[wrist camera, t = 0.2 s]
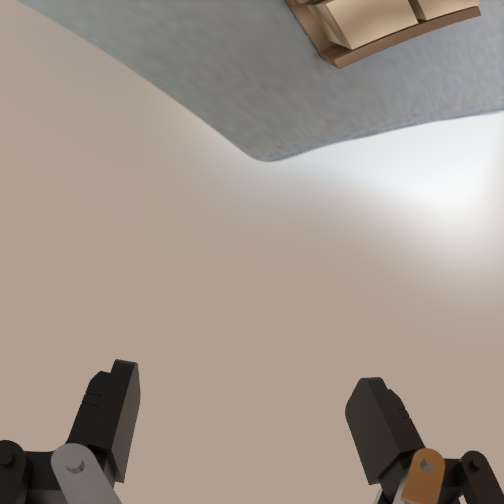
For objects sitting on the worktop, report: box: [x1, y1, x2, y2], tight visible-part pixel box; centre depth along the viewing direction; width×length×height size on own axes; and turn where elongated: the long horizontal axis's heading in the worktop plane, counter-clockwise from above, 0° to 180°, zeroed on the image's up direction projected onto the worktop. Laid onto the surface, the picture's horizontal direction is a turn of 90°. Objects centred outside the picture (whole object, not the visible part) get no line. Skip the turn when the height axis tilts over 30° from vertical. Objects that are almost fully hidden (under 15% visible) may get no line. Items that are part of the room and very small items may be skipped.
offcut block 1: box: [306, 0, 418, 50], centre depth 21 cm, size 4×7×8 cm, turn 123°
